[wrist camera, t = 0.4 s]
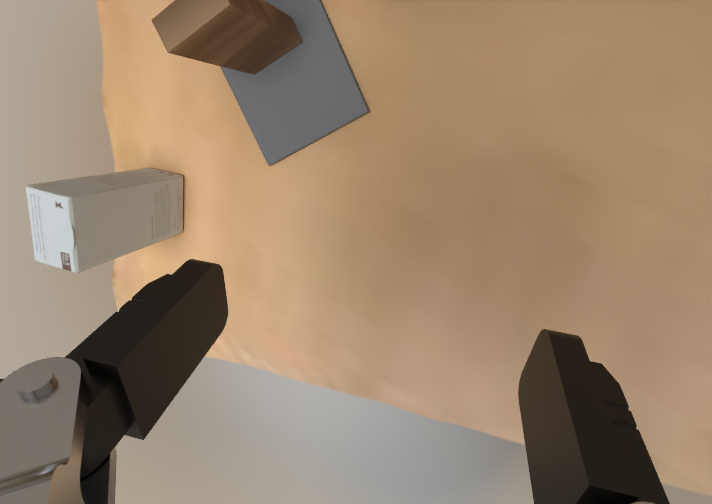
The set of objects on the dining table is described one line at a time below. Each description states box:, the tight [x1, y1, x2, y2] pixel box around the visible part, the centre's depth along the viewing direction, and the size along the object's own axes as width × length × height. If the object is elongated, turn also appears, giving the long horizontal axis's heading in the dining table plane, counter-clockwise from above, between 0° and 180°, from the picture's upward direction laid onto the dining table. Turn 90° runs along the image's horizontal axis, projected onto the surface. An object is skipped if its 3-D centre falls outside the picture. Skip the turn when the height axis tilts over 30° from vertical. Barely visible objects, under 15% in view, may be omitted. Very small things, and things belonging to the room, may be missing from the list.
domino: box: [152, 0, 303, 75], centre depth 27 cm, size 2×5×10 cm, turn 116°
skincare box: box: [26, 168, 183, 273], centre depth 34 cm, size 6×4×12 cm
